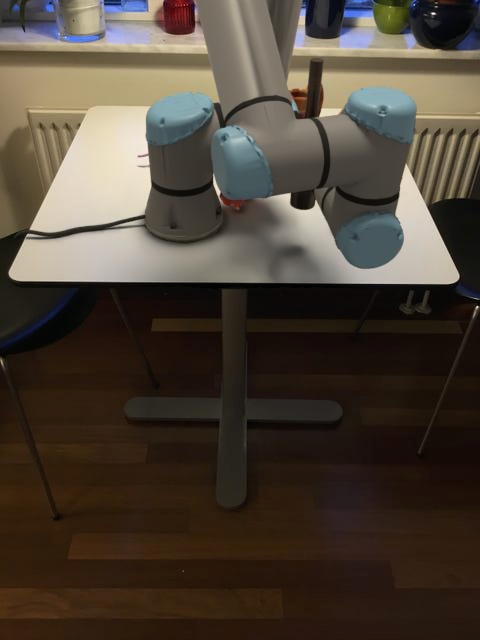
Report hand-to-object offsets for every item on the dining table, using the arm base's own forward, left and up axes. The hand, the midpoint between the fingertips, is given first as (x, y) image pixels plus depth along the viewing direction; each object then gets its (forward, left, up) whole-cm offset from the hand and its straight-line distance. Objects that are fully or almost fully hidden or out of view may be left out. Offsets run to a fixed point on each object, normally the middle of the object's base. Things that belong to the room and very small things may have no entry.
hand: (302, 118), depth 94 cm
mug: (+23, +27, -22) cm, 41 cm away
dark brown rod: (-2, -5, -13) cm, 14 cm away
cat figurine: (-8, +9, -18) cm, 21 cm away
